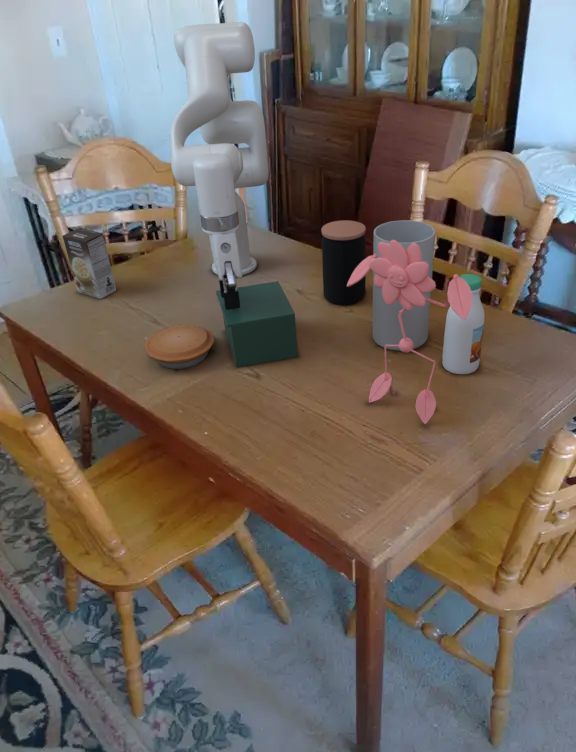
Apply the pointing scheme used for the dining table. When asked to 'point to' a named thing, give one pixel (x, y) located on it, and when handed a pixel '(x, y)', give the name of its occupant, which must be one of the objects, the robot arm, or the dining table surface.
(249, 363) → the bread bin
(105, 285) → the coffee box
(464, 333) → the milk bottle
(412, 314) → the cylinder vase
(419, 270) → the figurine
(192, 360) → the pie
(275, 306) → the bread bin lid
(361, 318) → the dining table surface
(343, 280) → the coffee jar
